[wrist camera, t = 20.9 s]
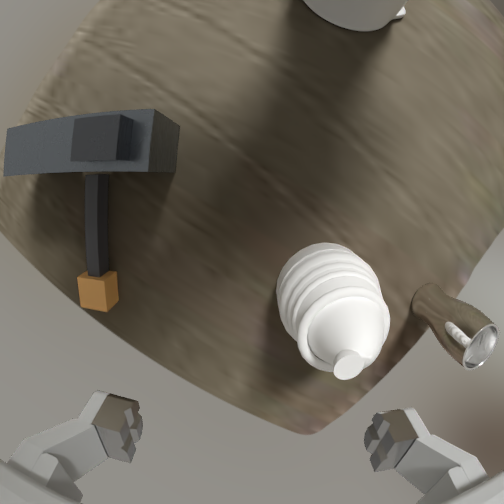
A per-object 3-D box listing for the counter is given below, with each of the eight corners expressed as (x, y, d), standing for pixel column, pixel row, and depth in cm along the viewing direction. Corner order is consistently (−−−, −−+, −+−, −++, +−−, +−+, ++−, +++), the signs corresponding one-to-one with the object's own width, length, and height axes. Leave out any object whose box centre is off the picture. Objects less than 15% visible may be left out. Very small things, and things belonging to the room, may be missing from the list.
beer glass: (445, 277, 38) (506, 317, 23) (438, 316, 40) (490, 363, 25) (412, 282, 38) (471, 328, 24) (405, 323, 40) (454, 377, 25)
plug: (89, 174, 34) (74, 175, 30) (116, 174, 34) (102, 174, 30) (93, 296, 39) (81, 306, 35) (118, 300, 39) (107, 312, 35)
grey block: (51, 133, 32) (-9, 127, 20) (180, 125, 33) (143, 101, 20) (48, 172, 34) (-13, 178, 21) (175, 172, 34) (135, 171, 22)
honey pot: (265, 321, 39) (273, 416, 22) (290, 232, 36) (324, 283, 19) (348, 335, 40) (394, 420, 23) (378, 254, 37) (455, 310, 20)
